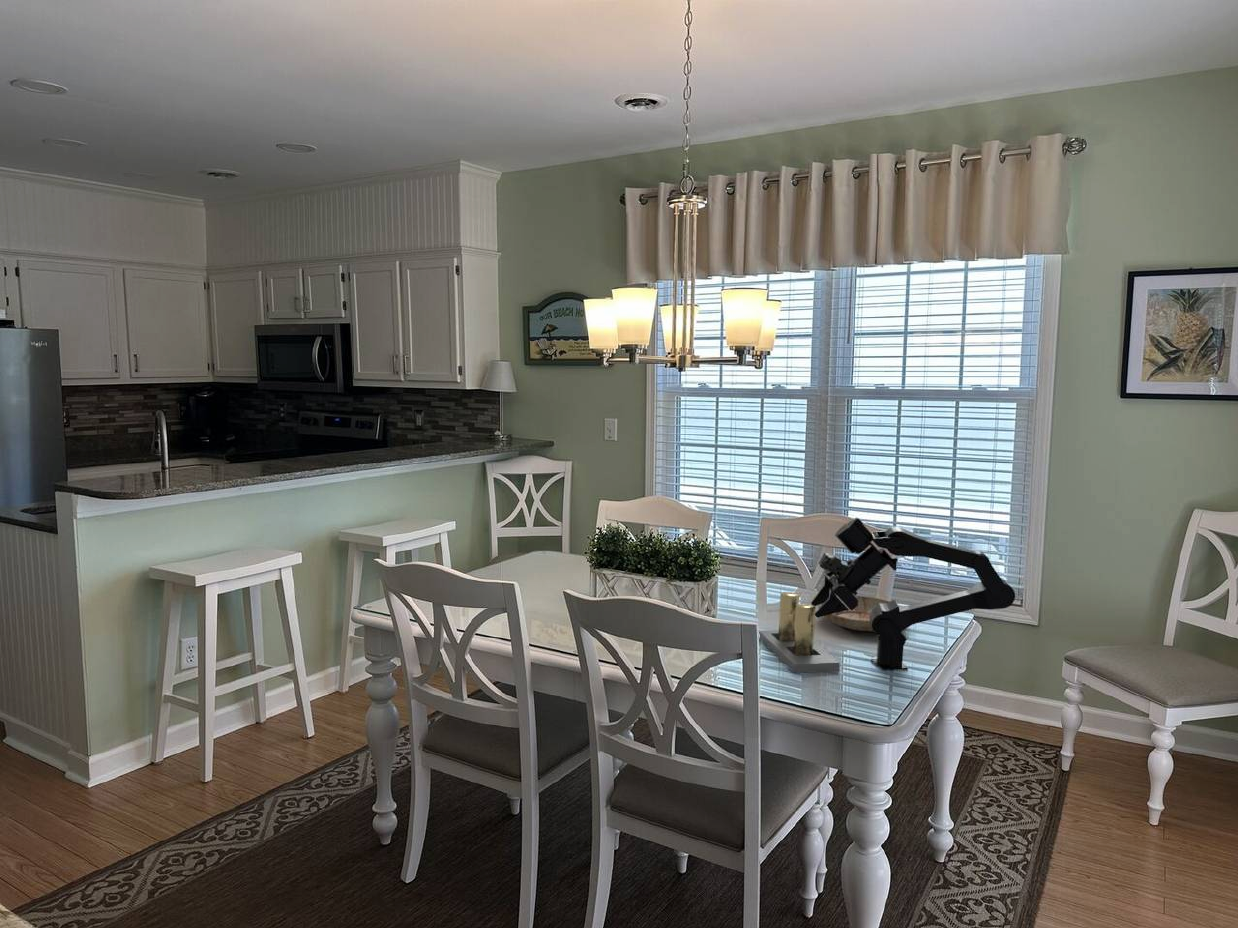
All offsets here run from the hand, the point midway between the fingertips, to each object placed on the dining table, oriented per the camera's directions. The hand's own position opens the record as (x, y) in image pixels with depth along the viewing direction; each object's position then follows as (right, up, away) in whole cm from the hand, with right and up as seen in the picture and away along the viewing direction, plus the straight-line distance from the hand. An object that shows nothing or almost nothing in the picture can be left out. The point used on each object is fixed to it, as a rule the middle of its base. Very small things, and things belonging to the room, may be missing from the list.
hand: (814, 610), depth 203 cm
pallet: (-3, -11, +5) cm, 13 cm away
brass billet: (-2, -12, +2) cm, 12 cm away
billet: (-4, -11, +12) cm, 16 cm away
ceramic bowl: (+20, -9, +31) cm, 38 cm away
